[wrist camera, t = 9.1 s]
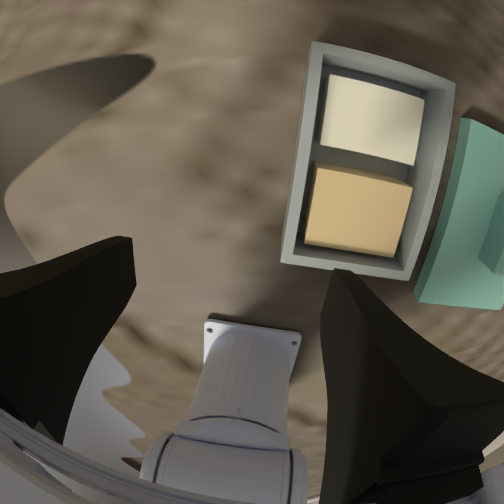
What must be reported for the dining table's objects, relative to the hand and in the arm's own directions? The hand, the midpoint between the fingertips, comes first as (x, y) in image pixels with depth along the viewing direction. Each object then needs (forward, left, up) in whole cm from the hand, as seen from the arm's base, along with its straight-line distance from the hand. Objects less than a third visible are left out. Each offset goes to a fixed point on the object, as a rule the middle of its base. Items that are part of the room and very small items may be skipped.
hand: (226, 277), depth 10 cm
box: (+4, -6, -10) cm, 12 cm away
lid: (+1, -18, -10) cm, 21 cm away
